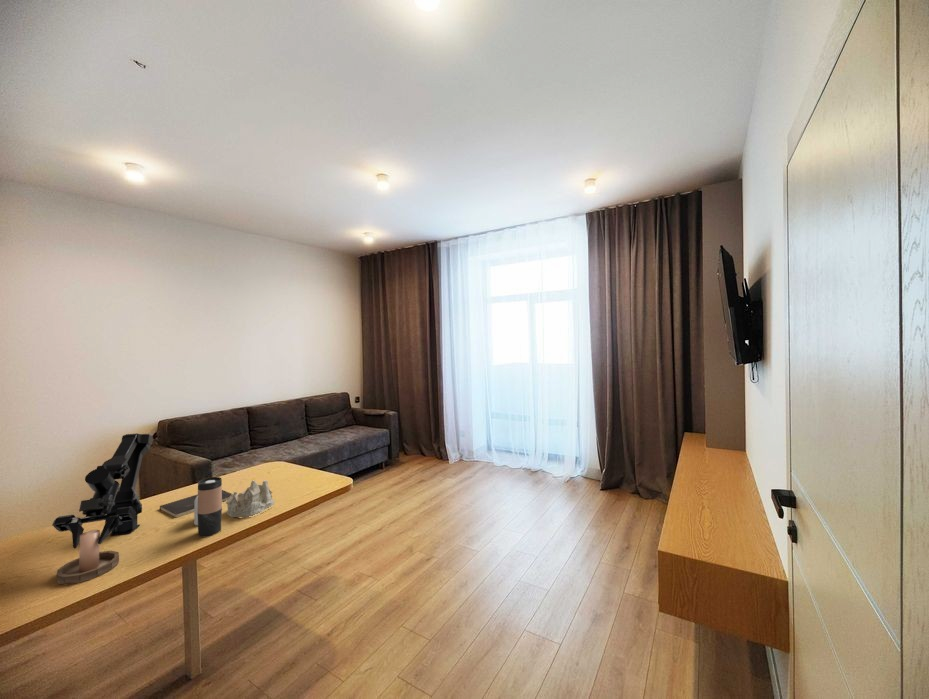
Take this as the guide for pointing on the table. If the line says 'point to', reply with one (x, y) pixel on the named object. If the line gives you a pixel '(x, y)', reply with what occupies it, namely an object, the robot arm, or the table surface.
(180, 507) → the hardcover book
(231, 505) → the ceramic cottage
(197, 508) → the photo printer
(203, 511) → the travel mug
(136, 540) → the table surface
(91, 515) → the robot arm
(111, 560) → the tray
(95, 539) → the candle
